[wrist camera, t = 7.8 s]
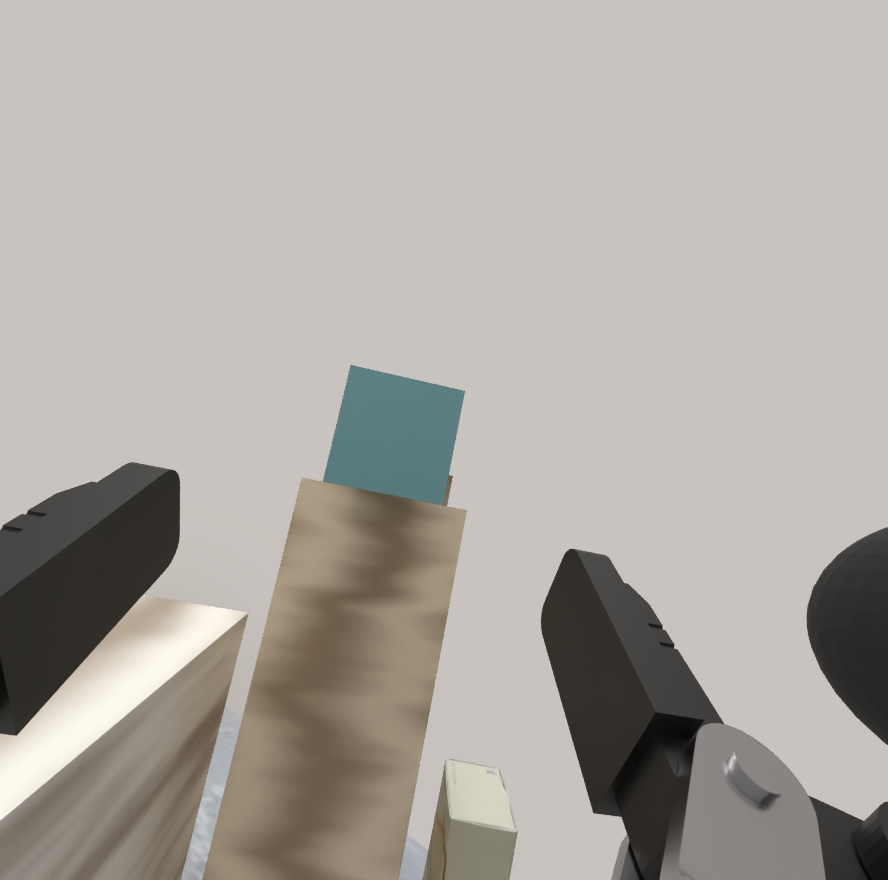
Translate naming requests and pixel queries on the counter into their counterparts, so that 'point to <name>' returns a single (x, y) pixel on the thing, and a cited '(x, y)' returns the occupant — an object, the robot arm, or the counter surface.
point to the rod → (394, 436)
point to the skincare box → (471, 825)
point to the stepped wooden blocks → (250, 715)
